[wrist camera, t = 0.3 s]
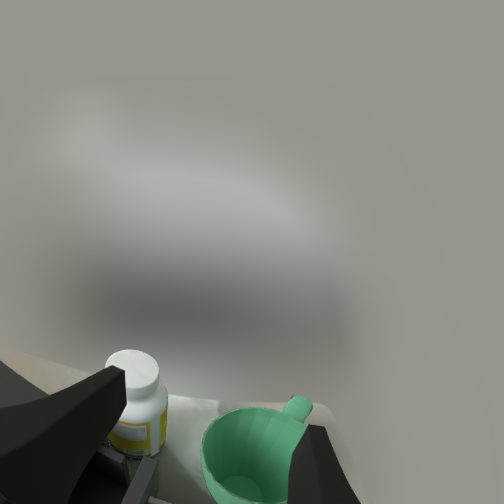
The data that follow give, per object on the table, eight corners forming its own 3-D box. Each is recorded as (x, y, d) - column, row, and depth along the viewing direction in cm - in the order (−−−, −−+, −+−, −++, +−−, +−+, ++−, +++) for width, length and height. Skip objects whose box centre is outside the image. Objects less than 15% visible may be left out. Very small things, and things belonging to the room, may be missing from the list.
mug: (256, 549, 16) (294, 526, 13) (169, 497, 20) (173, 456, 17) (315, 456, 29) (352, 406, 25) (246, 420, 33) (268, 364, 29)
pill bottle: (153, 411, 30) (157, 339, 26) (174, 454, 25) (182, 389, 21) (101, 418, 26) (90, 344, 23) (116, 465, 22) (103, 401, 18)
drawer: (202, 504, 20) (213, 477, 17) (176, 589, 10) (180, 590, 8) (49, 436, 21) (31, 394, 18) (4, 500, 11) (-31, 467, 8)
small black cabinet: (116, 470, 21) (105, 425, 18) (73, 554, 10) (39, 534, 7) (17, 411, 22) (-6, 355, 19) (-33, 472, 11) (-76, 421, 8)
